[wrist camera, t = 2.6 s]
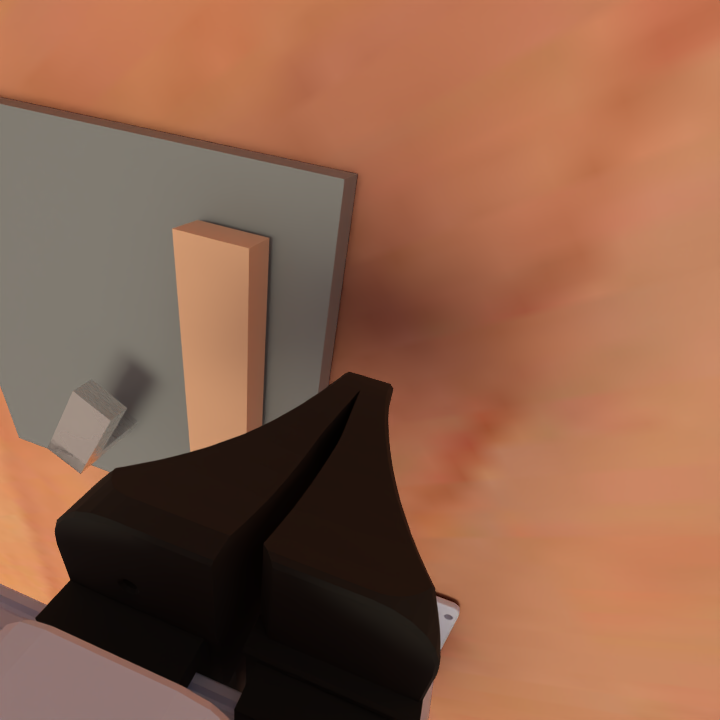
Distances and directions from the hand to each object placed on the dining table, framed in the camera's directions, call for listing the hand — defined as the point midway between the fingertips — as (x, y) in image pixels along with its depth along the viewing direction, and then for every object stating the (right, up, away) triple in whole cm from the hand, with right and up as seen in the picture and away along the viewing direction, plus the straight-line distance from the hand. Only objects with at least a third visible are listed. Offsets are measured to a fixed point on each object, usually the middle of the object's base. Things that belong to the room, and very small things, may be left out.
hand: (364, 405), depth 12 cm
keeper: (-12, -1, +11) cm, 16 cm away
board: (-11, +3, +10) cm, 15 cm away
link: (-6, 0, +8) cm, 10 cm away
